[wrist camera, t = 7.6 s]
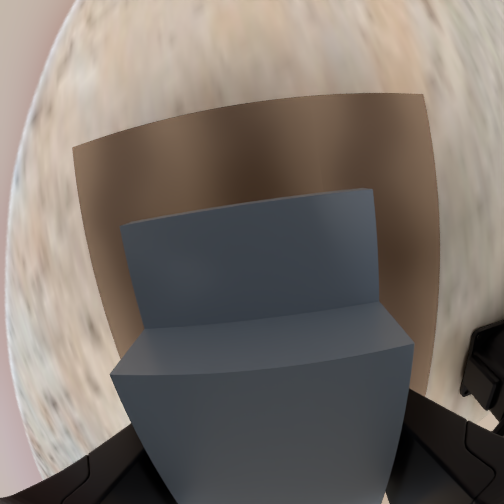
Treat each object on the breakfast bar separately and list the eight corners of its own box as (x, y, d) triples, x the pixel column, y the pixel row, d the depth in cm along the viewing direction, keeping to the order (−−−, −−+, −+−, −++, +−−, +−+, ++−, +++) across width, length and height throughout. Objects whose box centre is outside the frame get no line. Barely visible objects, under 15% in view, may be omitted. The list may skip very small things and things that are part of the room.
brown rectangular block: (396, 107, 16) (422, 94, 12) (406, 372, 19) (424, 400, 16) (103, 151, 17) (72, 147, 13) (164, 401, 21) (151, 431, 17)
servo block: (327, 185, 9) (415, 193, 3) (339, 437, 11) (363, 548, 5) (179, 206, 9) (69, 243, 4) (235, 449, 11) (221, 560, 6)
